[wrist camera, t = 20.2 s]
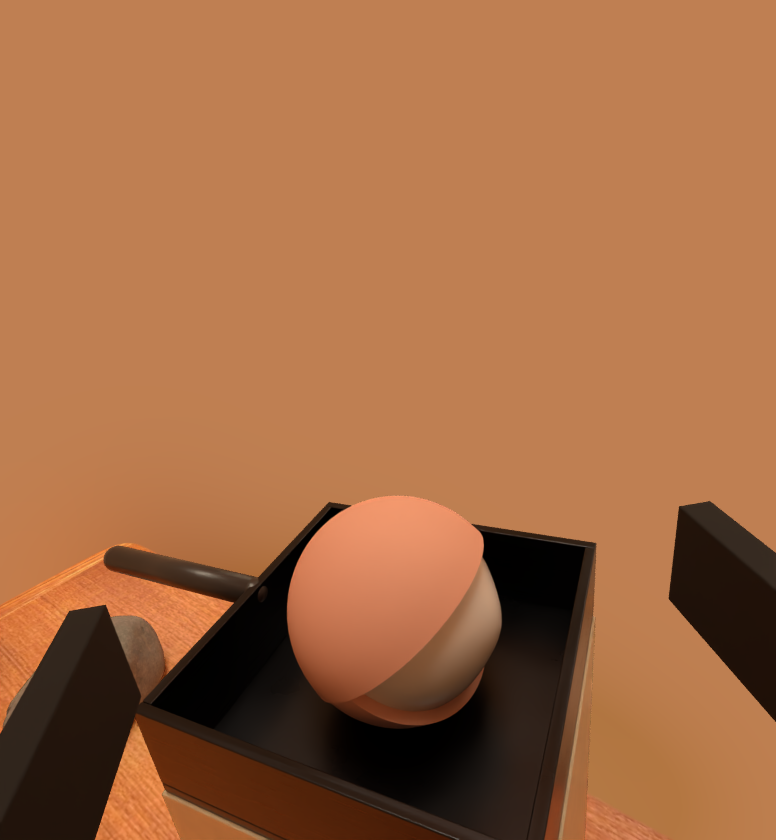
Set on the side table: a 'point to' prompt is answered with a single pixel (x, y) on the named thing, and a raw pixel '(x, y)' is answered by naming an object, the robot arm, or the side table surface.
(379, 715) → the toy ball
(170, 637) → the side table surface
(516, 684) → the pan
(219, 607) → the side table surface
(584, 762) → the stand
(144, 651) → the stone
